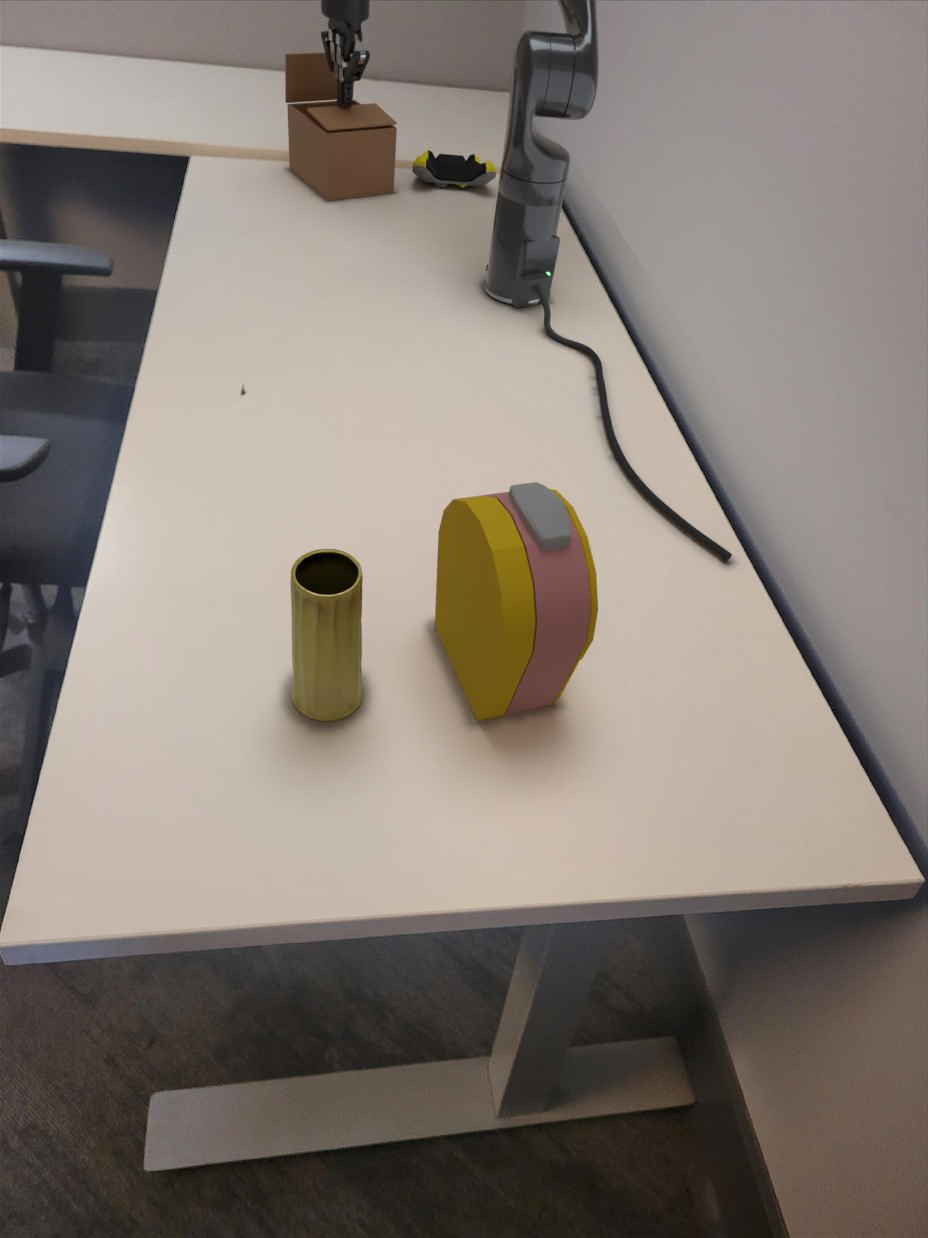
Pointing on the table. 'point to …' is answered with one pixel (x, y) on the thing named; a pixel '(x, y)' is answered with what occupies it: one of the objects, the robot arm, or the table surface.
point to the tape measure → (514, 597)
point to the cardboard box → (333, 137)
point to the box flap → (351, 116)
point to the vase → (326, 634)
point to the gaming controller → (453, 169)
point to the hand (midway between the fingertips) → (344, 105)
